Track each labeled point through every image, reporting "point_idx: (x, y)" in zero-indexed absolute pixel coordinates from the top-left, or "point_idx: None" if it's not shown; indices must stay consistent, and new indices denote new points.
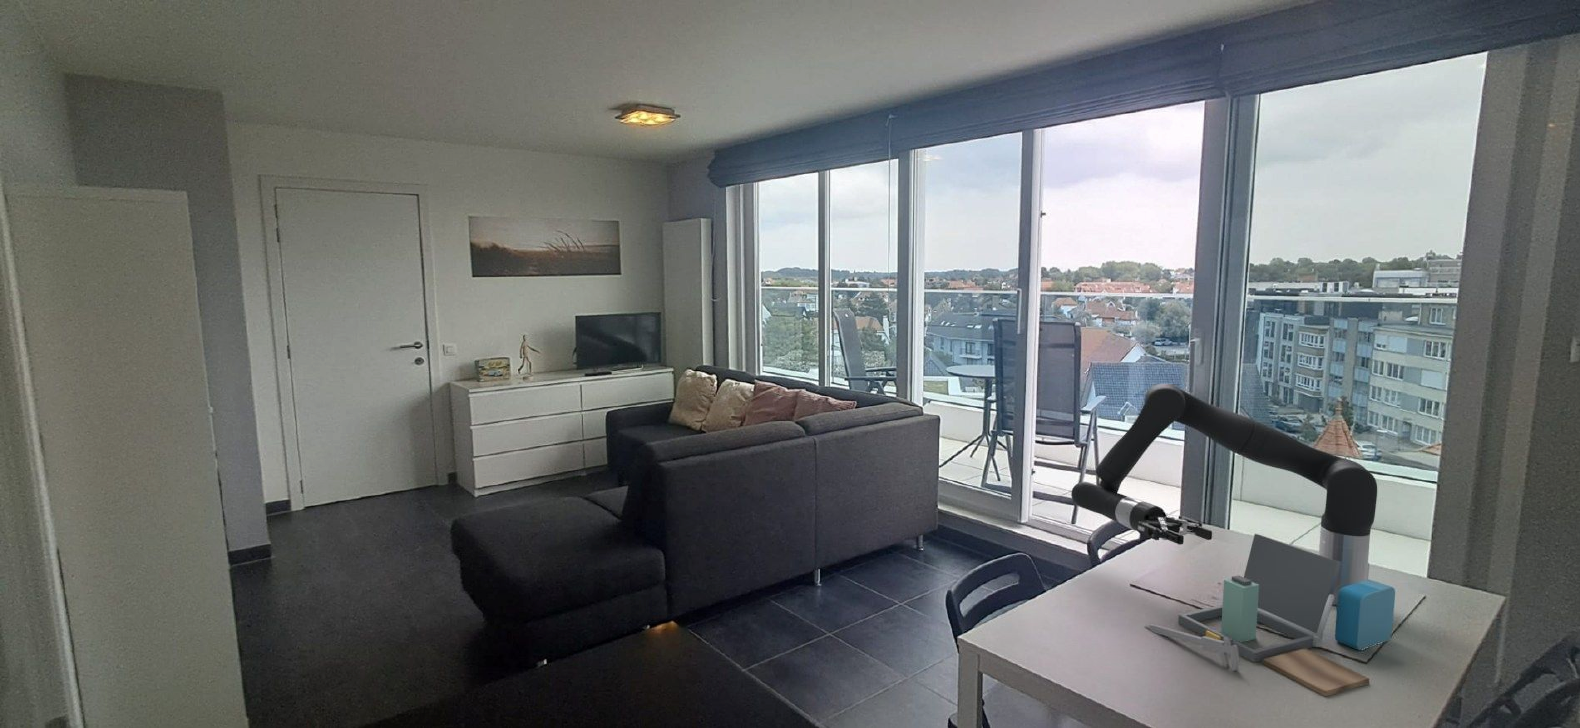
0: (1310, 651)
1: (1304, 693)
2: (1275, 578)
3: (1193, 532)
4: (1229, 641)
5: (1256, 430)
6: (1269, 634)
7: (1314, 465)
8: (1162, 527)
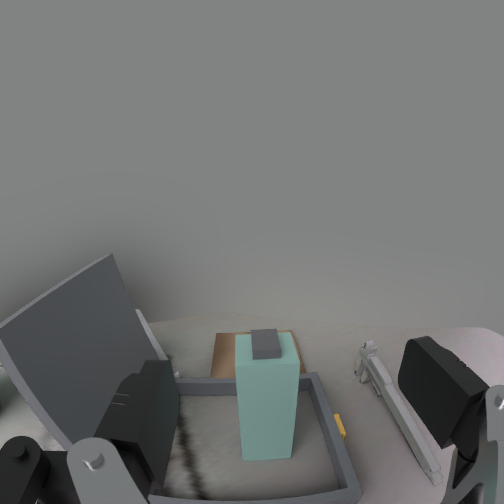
0: (213, 373)
1: (308, 340)
2: (101, 378)
3: (148, 501)
4: (372, 342)
5: None
6: (198, 431)
7: None
8: None
